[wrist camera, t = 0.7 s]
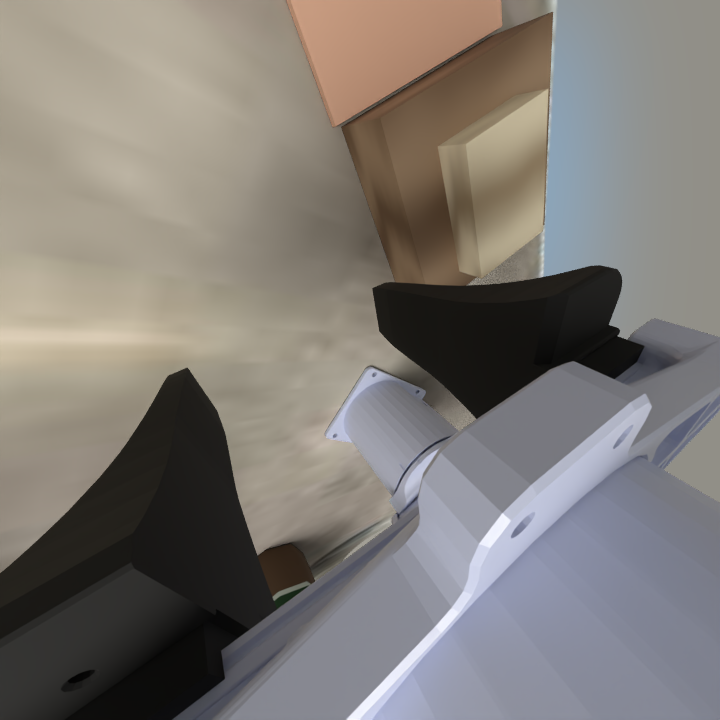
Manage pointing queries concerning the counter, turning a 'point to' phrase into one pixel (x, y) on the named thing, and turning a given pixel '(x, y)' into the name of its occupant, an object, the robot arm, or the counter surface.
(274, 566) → the beer bottle
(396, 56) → the mat
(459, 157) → the tile
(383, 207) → the brown flat block
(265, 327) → the counter surface
